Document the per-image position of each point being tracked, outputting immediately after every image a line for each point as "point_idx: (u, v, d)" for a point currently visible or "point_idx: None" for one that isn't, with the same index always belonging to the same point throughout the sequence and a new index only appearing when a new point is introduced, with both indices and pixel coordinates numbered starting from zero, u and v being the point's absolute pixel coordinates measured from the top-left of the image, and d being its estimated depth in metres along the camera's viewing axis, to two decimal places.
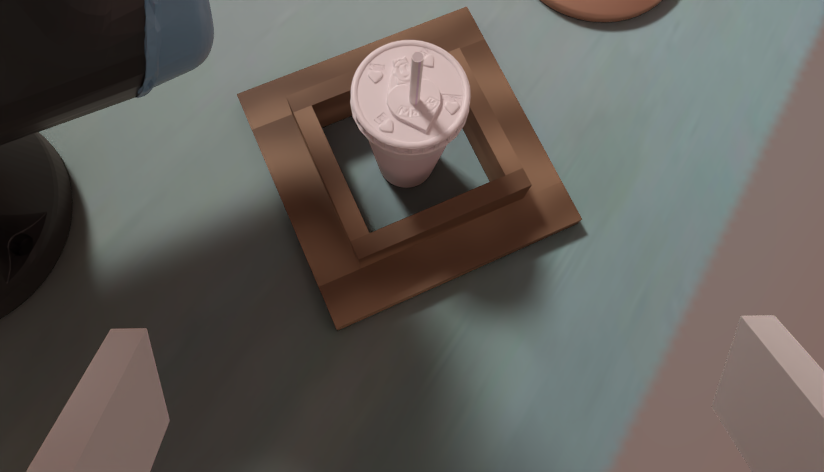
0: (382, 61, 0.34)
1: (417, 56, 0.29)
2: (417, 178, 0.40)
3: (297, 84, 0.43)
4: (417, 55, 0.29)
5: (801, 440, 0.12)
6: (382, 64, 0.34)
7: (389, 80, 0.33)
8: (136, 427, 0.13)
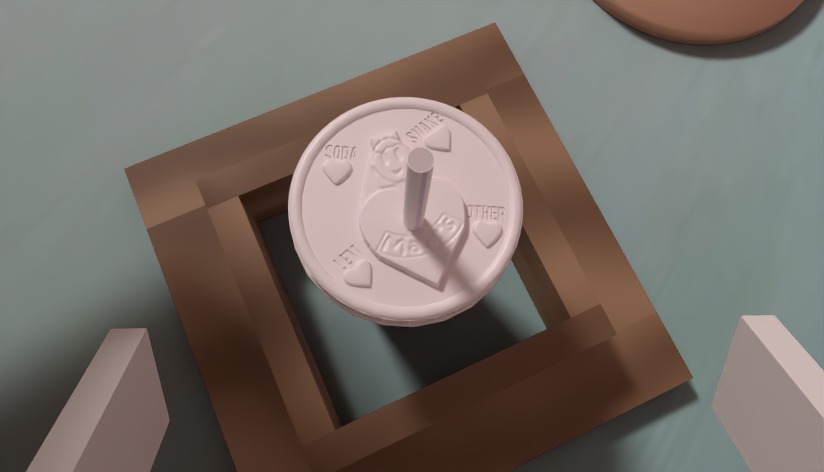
0: (351, 140, 0.17)
1: (419, 157, 0.13)
2: None
3: (223, 151, 0.26)
4: (420, 156, 0.13)
5: (801, 440, 0.12)
6: (350, 147, 0.17)
7: (364, 179, 0.17)
8: (136, 427, 0.13)
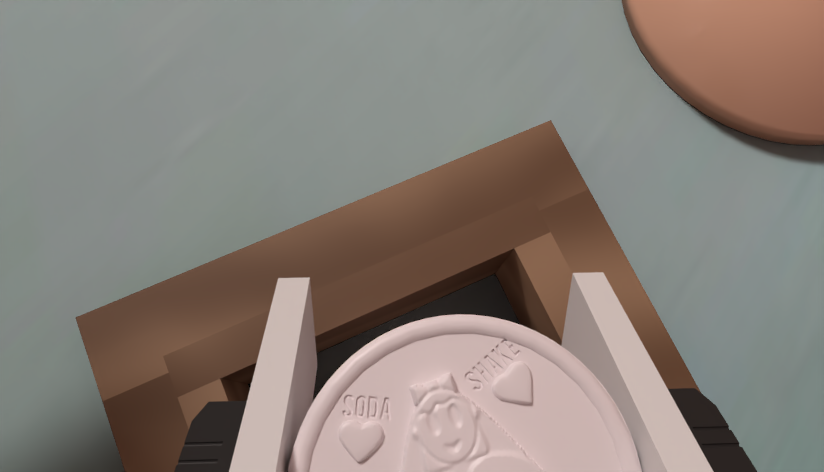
0: (382, 386, 0.12)
1: None
2: None
3: (205, 293, 0.20)
4: None
5: (601, 377, 0.13)
6: (381, 397, 0.11)
7: (402, 455, 0.11)
8: (307, 362, 0.15)
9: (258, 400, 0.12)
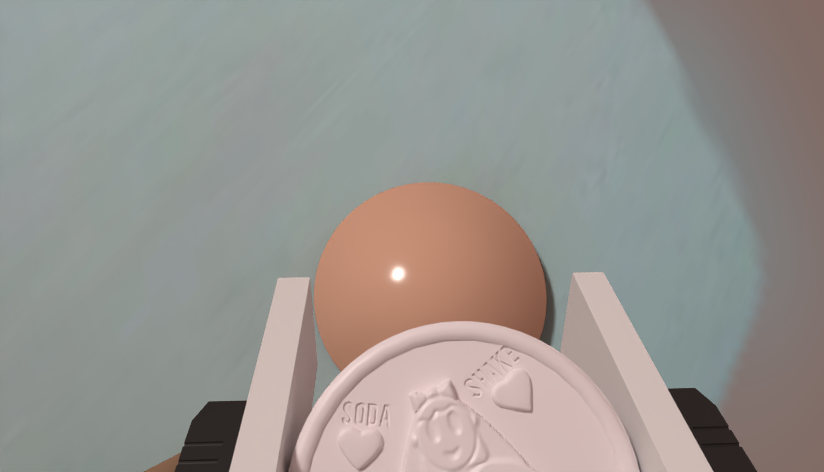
0: (381, 393, 0.12)
1: None
2: None
3: None
4: None
5: (601, 376, 0.14)
6: (380, 405, 0.11)
7: (402, 462, 0.11)
8: (307, 362, 0.15)
9: (258, 400, 0.12)
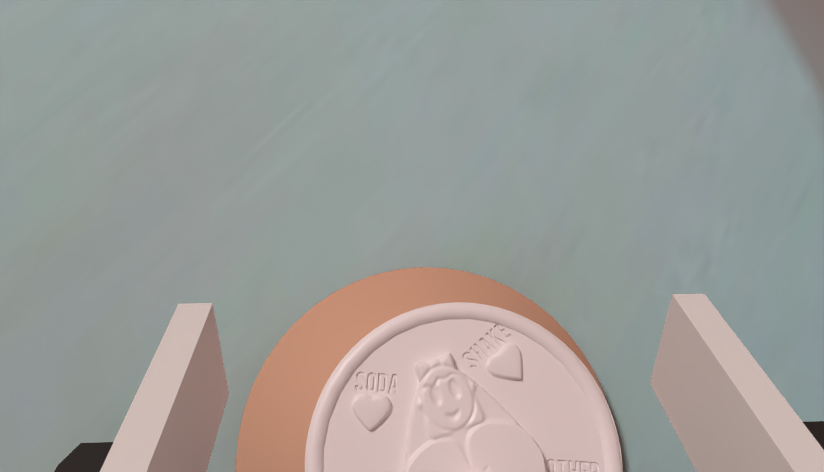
0: (389, 364, 0.13)
1: None
2: None
3: None
4: None
5: (719, 408, 0.13)
6: (389, 375, 0.13)
7: (408, 423, 0.13)
8: (205, 395, 0.14)
9: (124, 445, 0.11)
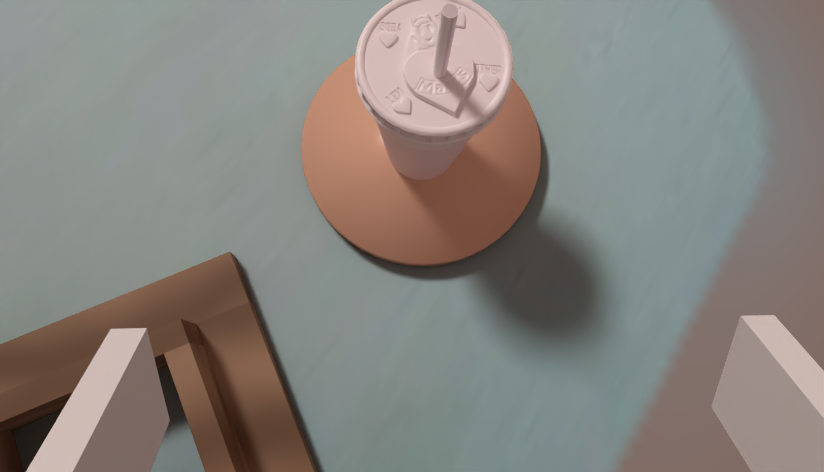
0: (397, 19, 0.26)
1: (449, 9, 0.21)
2: (436, 170, 0.32)
3: None
4: (449, 8, 0.21)
5: (801, 439, 0.12)
6: (397, 23, 0.26)
7: (406, 44, 0.25)
8: (136, 427, 0.13)
9: None
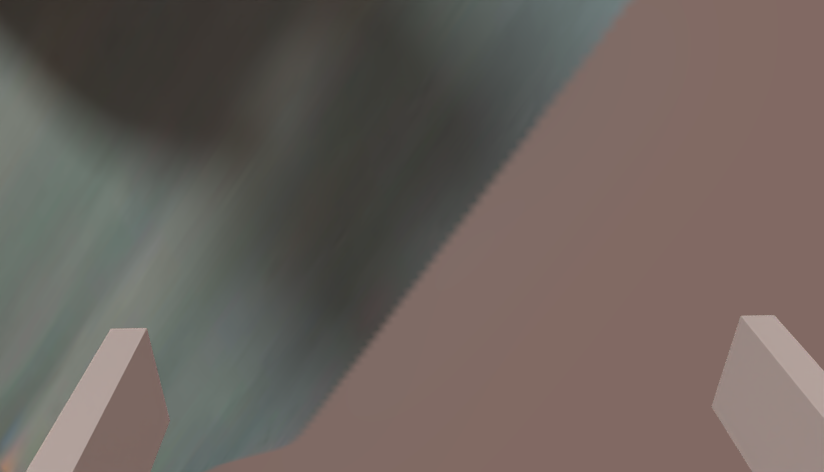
0: None
1: None
2: None
3: None
4: None
5: (801, 439, 0.12)
6: None
7: None
8: (136, 427, 0.13)
9: None
